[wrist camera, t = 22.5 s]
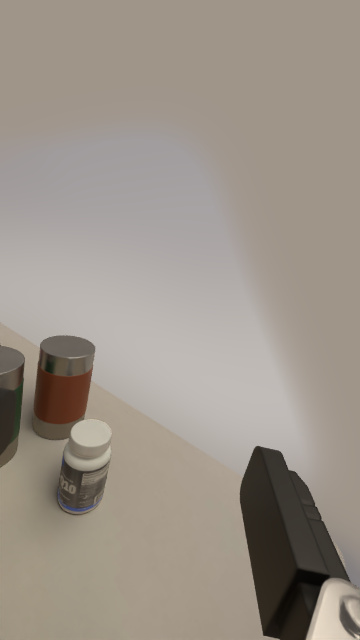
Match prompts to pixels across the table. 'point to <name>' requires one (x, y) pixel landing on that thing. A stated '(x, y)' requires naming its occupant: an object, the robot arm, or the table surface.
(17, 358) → the can green
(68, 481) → the pill bottle
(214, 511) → the table surface
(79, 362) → the can rust
